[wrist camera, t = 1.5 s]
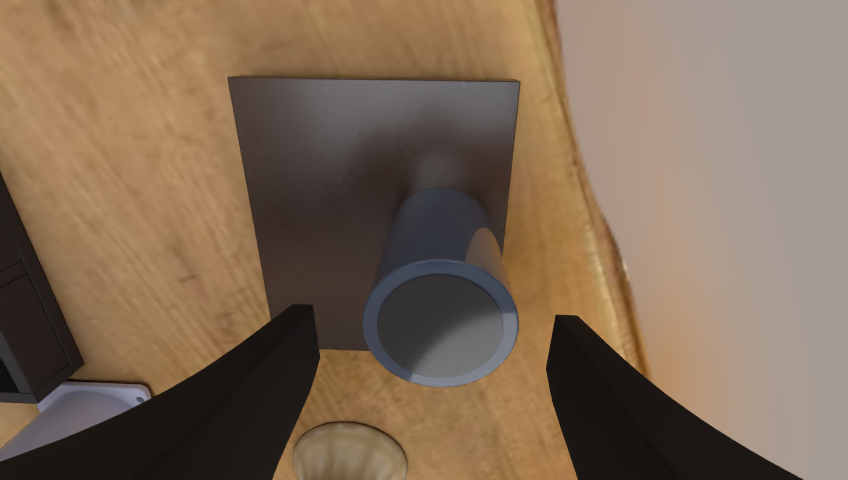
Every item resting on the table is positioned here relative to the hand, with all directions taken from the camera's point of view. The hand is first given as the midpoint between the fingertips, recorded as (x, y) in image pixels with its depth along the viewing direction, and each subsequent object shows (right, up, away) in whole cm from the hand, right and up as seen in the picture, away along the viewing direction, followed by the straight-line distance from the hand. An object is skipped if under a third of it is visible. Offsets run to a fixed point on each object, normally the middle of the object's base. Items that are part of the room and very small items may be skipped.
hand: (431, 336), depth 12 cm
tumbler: (+1, +3, +7) cm, 8 cm away
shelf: (-2, +4, +9) cm, 10 cm away
